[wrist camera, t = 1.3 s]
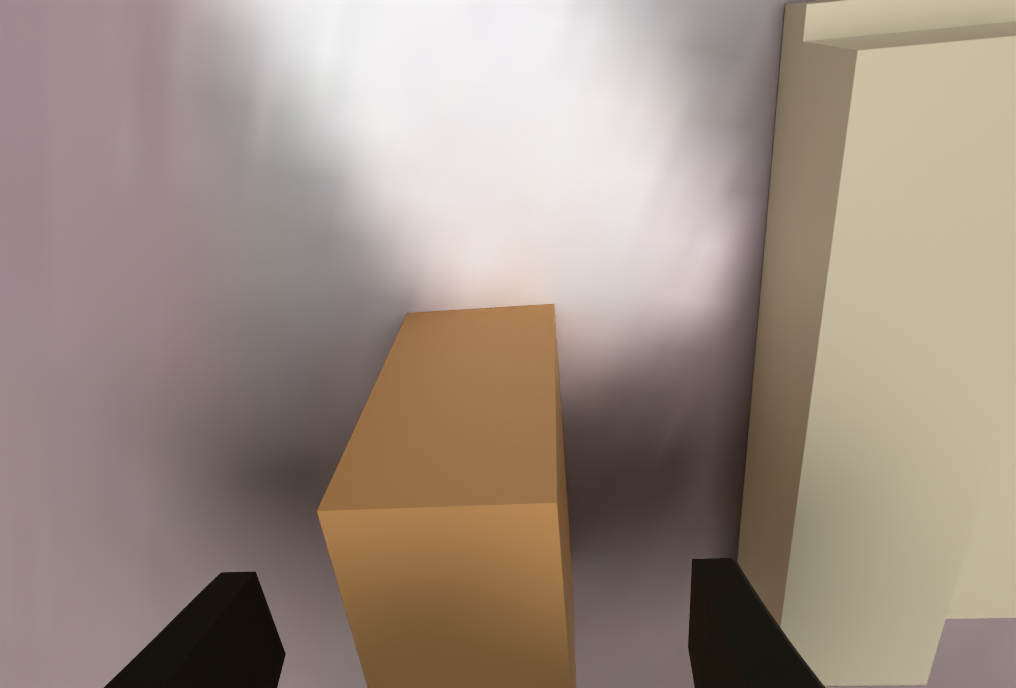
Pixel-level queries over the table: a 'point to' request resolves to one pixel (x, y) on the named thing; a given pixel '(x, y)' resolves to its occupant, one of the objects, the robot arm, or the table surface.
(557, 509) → the orange plug
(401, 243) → the table surface
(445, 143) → the table surface
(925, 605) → the comb rack
